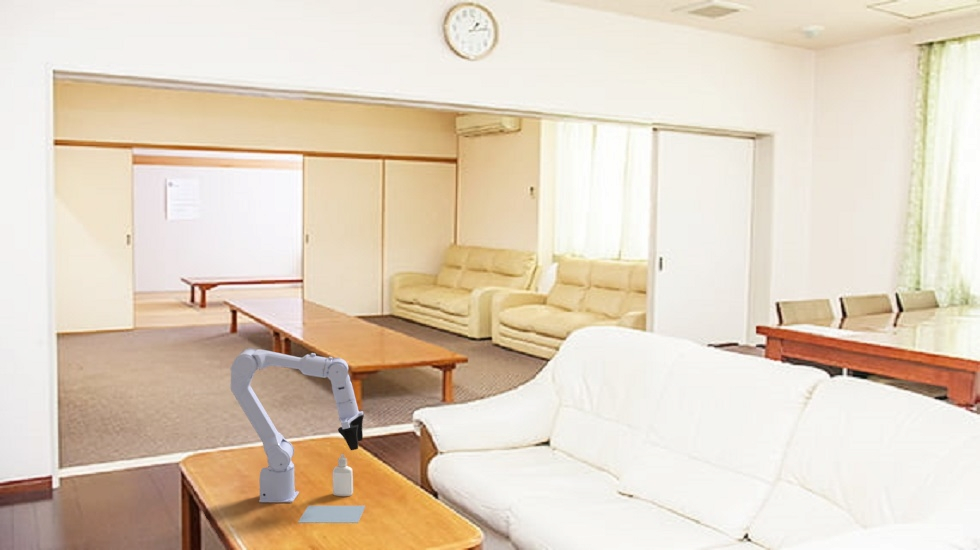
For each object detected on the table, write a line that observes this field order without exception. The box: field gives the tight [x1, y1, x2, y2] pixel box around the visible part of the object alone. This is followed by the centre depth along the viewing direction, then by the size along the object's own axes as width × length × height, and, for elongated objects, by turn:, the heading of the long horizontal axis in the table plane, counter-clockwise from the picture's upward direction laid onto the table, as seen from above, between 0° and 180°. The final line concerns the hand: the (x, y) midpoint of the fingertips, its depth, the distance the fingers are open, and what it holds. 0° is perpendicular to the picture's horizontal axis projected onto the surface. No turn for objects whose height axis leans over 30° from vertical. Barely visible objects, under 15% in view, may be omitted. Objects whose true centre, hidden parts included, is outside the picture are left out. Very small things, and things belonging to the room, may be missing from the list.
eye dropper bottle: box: [332, 453, 354, 497], centre depth 235 cm, size 4×6×12 cm
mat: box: [297, 505, 366, 524], centre depth 221 cm, size 16×12×1 cm
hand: (356, 445), depth 234 cm, fingers open, 7 cm apart
